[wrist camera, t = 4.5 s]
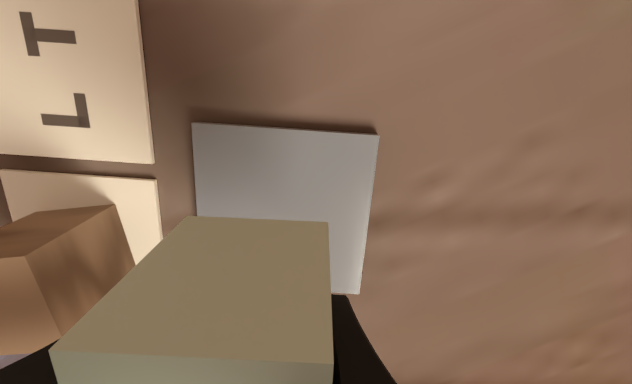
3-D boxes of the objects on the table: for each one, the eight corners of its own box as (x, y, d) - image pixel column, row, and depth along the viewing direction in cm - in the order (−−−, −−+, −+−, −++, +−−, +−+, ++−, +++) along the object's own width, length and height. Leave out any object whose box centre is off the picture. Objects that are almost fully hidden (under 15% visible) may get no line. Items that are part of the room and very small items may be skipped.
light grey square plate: (358, 288, 21) (359, 294, 20) (204, 277, 21) (201, 283, 20) (377, 133, 17) (379, 135, 17) (195, 121, 17) (191, 122, 17)
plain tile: (169, 306, 21) (167, 309, 21) (37, 297, 22) (33, 300, 21) (156, 179, 19) (153, 181, 18) (3, 168, 19) (-2, 170, 18)
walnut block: (139, 276, 20) (68, 350, 15) (65, 282, 21) (-33, 357, 15) (115, 203, 19) (24, 256, 13) (35, 211, 19) (-87, 265, 13)
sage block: (321, 335, 13) (320, 535, 7) (198, 329, 13) (99, 524, 7) (328, 222, 11) (333, 363, 6) (187, 215, 11) (48, 350, 6)
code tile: (154, 162, 18) (151, 164, 18) (-1, 152, 18) (-7, 153, 18) (135, -19, 15) (132, -21, 15) (-50, -32, 15) (-57, -34, 15)
